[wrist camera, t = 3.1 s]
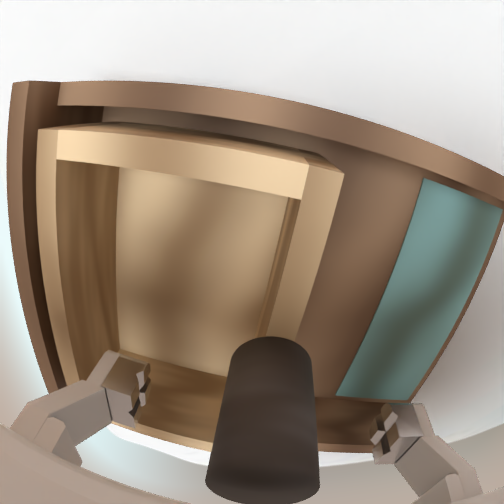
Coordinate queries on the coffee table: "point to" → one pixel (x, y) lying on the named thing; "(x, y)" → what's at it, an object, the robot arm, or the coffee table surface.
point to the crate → (193, 286)
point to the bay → (337, 244)
